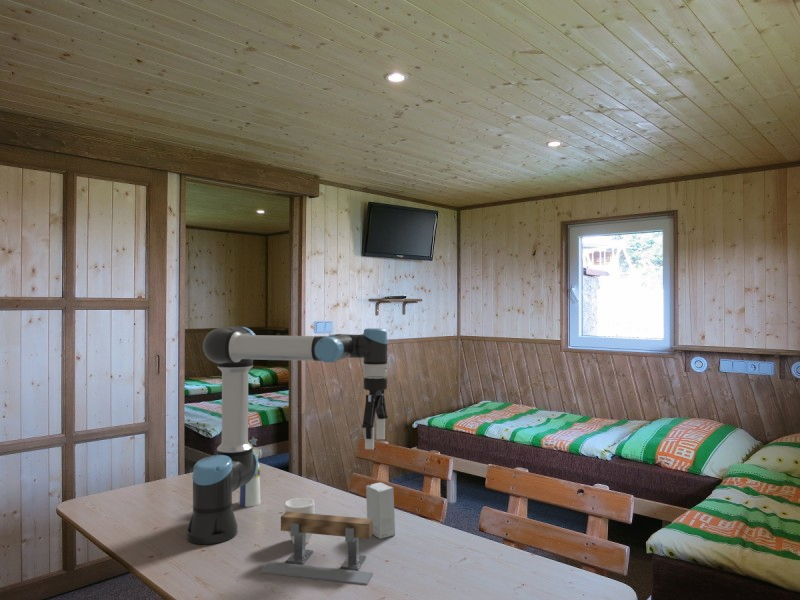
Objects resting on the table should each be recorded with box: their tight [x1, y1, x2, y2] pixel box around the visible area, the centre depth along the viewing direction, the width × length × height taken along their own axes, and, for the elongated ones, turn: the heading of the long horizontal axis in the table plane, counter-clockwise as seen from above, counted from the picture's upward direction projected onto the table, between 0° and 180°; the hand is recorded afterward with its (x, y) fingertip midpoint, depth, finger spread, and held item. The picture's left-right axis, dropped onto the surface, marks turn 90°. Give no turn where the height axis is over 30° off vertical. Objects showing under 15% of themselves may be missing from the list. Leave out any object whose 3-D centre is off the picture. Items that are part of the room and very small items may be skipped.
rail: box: [280, 511, 373, 540], centre depth 160 cm, size 26×4×4 cm, turn 77°
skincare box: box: [365, 482, 396, 540], centre depth 180 cm, size 8×6×15 cm
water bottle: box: [238, 436, 262, 508], centre depth 207 cm, size 8×8×25 cm
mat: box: [259, 560, 374, 586], centre depth 153 cm, size 30×6×1 cm, turn 77°
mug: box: [284, 497, 318, 545], centre depth 175 cm, size 12×9×12 cm
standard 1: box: [285, 522, 314, 565], centre depth 162 cm, size 5×8×11 cm, turn 167°
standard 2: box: [339, 527, 367, 571], centre depth 159 cm, size 5×8×11 cm, turn 167°
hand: (375, 443), depth 181 cm, fingers open, 13 cm apart
